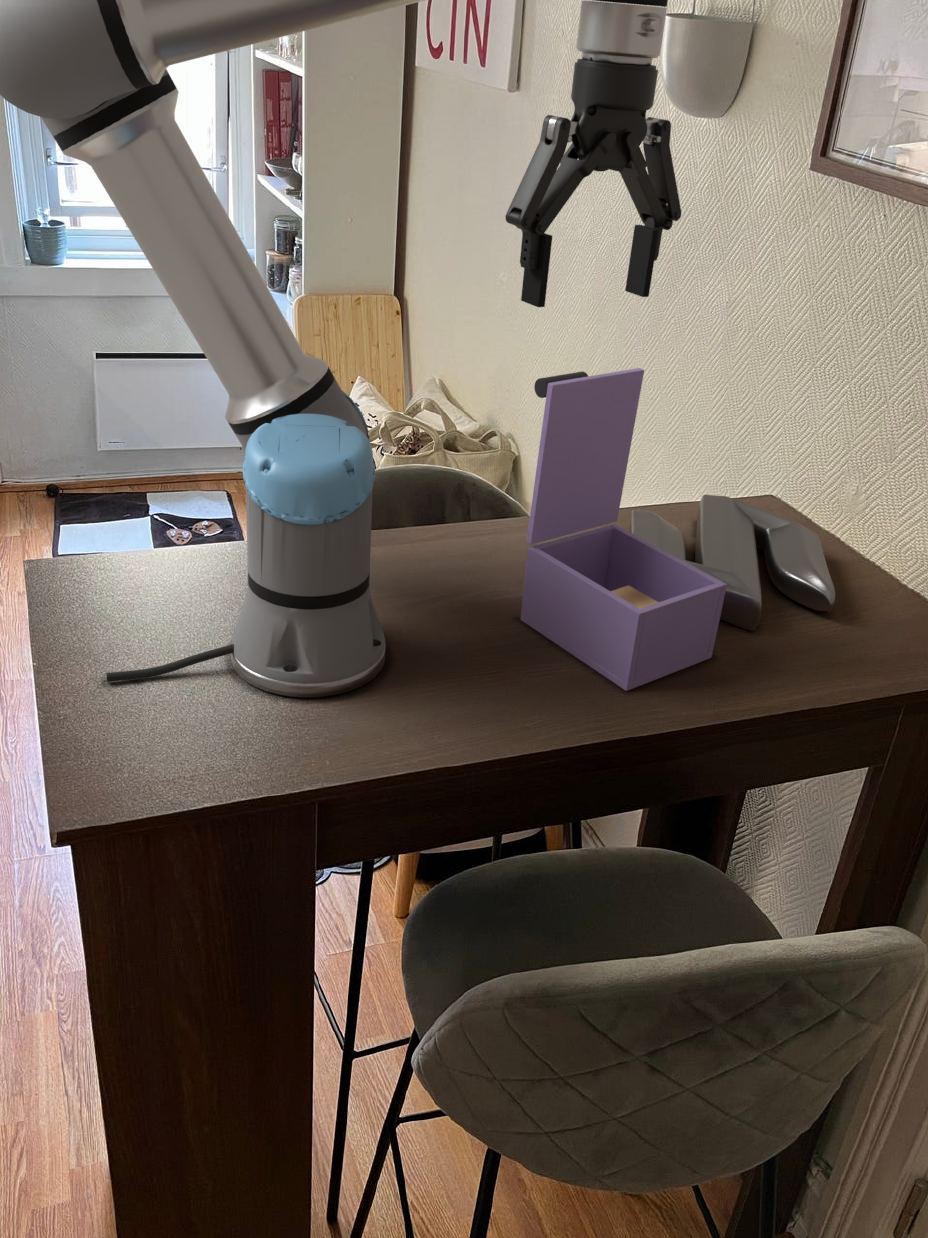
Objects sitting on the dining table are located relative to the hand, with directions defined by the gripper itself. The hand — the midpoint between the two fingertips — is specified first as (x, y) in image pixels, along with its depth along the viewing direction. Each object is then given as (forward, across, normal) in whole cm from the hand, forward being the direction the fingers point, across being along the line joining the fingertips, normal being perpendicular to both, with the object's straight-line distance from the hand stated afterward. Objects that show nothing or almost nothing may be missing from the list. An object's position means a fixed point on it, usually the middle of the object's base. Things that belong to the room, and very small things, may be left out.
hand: (586, 298), depth 110 cm
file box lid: (+16, 0, -3) cm, 16 cm away
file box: (+34, +1, -11) cm, 35 cm away
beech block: (+33, +1, -12) cm, 35 cm away
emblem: (+34, +24, -5) cm, 41 cm away
